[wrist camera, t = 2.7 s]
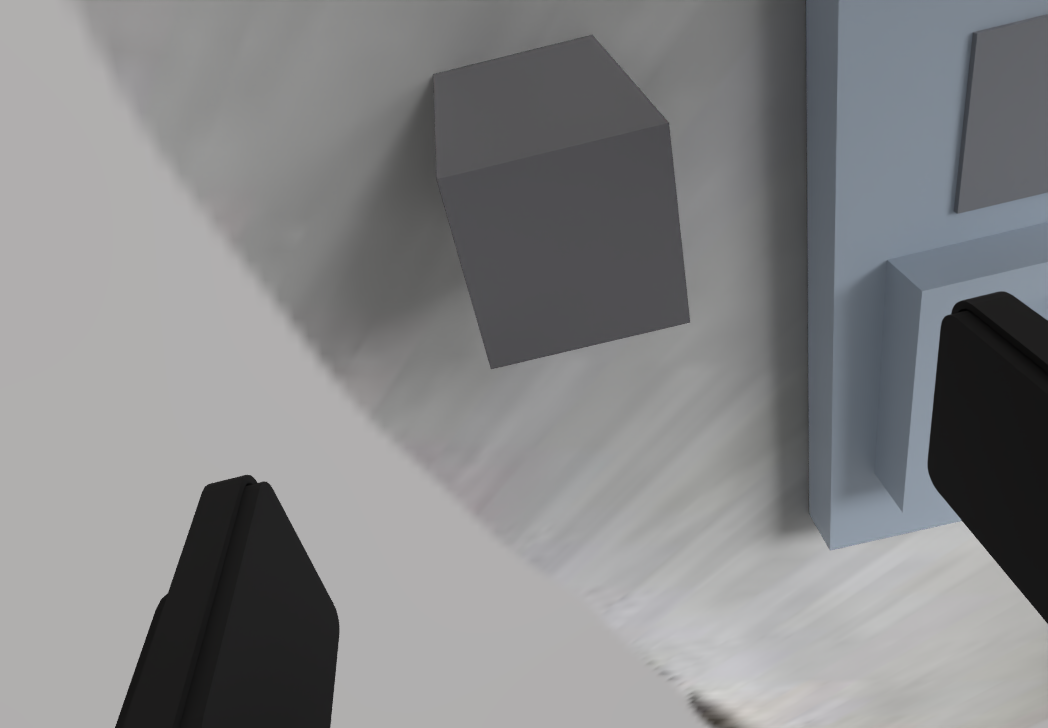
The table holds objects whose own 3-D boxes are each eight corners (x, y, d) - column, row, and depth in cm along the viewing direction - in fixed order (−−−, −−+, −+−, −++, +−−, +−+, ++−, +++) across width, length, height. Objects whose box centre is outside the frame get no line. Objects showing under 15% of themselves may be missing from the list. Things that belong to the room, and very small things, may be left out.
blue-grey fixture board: (805, -189, 19) (886, -196, 15) (1309, -317, 18) (1503, -353, 15) (809, 514, 32) (853, 591, 29) (1101, 447, 32) (1180, 518, 28)
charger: (433, 74, 21) (436, 179, 15) (592, 35, 21) (668, 122, 14) (474, 226, 24) (492, 374, 17) (616, 191, 24) (690, 327, 17)
